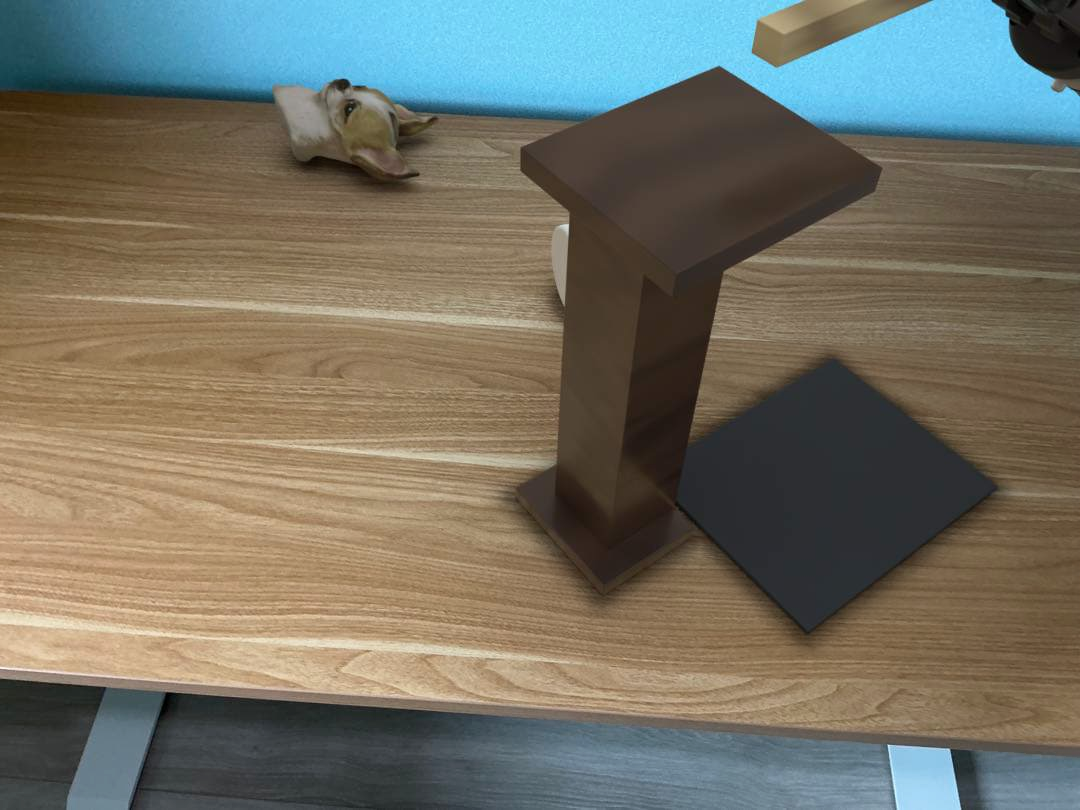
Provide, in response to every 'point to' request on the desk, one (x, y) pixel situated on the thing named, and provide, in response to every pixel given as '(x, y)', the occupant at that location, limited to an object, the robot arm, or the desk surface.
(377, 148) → the ceramic sculpture
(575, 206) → the stand
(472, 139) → the desk surface
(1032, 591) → the desk surface
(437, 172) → the desk surface
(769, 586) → the mat
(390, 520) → the desk surface
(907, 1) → the wooden stick
